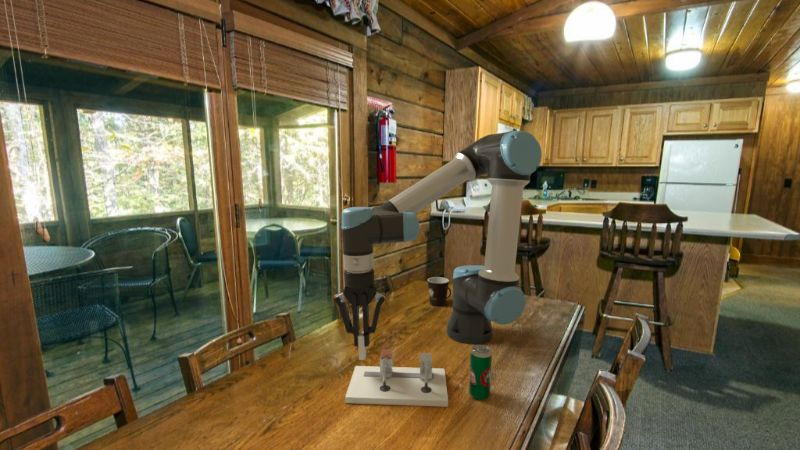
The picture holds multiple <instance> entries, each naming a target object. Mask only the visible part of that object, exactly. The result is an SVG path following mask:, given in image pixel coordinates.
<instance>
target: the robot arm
mask: <svg viewBox="0 0 800 450" xmlns="http://www.w3.org/2000/svg"><path fill="white" fill-rule="evenodd" d="M542 154H543V153H542V147H541V145H540V142H539V140H537V139H536V136H534V135H533V134H532V133H530V132H528V131H525V130H509V131H505V132H499V133H492V134H487V135H484V136H482V137H479V139H477V140H475V141H474V142H472V143H470V144H469V145H467V146H466V147H465V148H463V149H462V150H460V151H458V152H457V153H456V154H454V157H453V159H452V160H451V161H449V162H447V163H445V164H444V165H443V166H441V167H440V168H438V169H436V170H434V171H433V172H431V173H430V174H428V175H426V176H425V177H423V178H422V179H420V180H419V181H417V182H415V183H413V184H412V185H411V186H409V187H408V188H406V189H405V190H403V191H401V192H400V193H398V194H396V195H395V196H394V197H392V198H390V199H389V200H387V201H385V202H383V204H381V205H379V206H373V207H368V206H352V207H347V208H345V209H343V210H342V212H341V226H340V228H341V236H342V237H341V239H342V258H343V259H342V262H343V269H344V272H343V281H344V282H343V283H344V288H343V290H342V292H341V293H340V294H337V295H336V296H335V298H334V302H335V304H336V305H337V306H338V308H339V311H340V315H341V319H342V323H343V325H344V327H345V332H346V333H347V334H351V335H353V343H354V347H357V348H358V360H359V361H365V360H366V357H367V347H369V346H370V343H371V339H370V334H374V333H376V330H377V327H378V326H377V325H378V322H379V316H380V313H381V308H382V305H383V303H384V302H385V299H386V295H385V294H384V293H382V294H381V293H380V292H378V289H377V288H376V284H375V270H374V269H373V268H374V267H375V260H374V259H375V258H374V257H375V255H374V246H375V245H382V244H383V245H385V244H395V243H406V242H411V241H415V240H416V239H417V238H418V237H419V236H420V235H419V234H420V222H419V218H418V216H417V214H418V213H419V212H420V211H421V210H423V209H425V208H427V207H428V206H430V205H431V204H433V203H434V202H436V201H437V200H438V199H440V198H442V197H443V196H445V195H446V194H448V193H449V192H451V191H454V189H455V188H457V187H459V186H461V185H462V184H464V183H465V182H466V181H470V182H472V181H474V180H475V179H477V178H479V177H481V176H484V175H487V177H486V180H487V181H488V182H489V184H490V185H491V192H490V202H489V203H490V204H489V213H488V221H487V223H488V224H487V233H486V235H487V236H486V242H485V243H486V244H485V246H486V247H485V255H484V265H480V264H479V265H478V264H477V265H476V264H475V265H474V264H473V265H472V264H471V265H470V264H469V265H468V264H467V265H461V266H457V267H456V268H455V269H454V270H453V276H452V309H451V310H452V311H451V313H450V316H449V319H448V321H447V324H446V334H447V336H448V337H449V338H450V339H452V340H453V341H456V342H458V343H462V344H463V343H464V344H470V345H480V344H484V343H487V342H490V341H491V340H492V339H493V337H494V328H493V324H492V323H495V324H497V325H500V326H503V325H505V326H506V325H509V324H511V323H514V322H515V321H516V320H517V319H518V318H519V317H520V316H521V315H522V314H523V313H524V310H525V307H526V304H527V303H526V302H527V301H526V299H527V298H526V295H525V293H524V292H523V291H522V289H521V288H520V287H519V286H520V276H519V275H518V274H517V272H516V262H517V261H516V260H517V253H518V241H519V233H520V222H521V214H522V204H523V194H524V193H523V192H524V188H525V186H527V185H528V184H529V183H530V182H531V175H532V174H533V173H534V172H536V171H537V169H538V168H539V167H540V164H541V162H542V158H543V157H542V156H543V155H542ZM374 298H375V303H376V305H375V309H374V312H373V313H374V314H373V317H372V322H371V326H370V309H369V306H370V303H371V302H372V300H373V299H374ZM346 300H347V301H348V302H349V304H350V305H351V310H352V319H351V317H350V314H349V313H350V312H349V310H348V306H347V304H346ZM360 306H361V310H362V323H363V324H362V325H363V326H362V327H363V328H362V329H363V331H360V330H361V328H360Z"/></svg>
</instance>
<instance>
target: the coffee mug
mask: <svg viewBox="0 0 800 450" xmlns="http://www.w3.org/2000/svg"><path fill="white" fill-rule="evenodd" d="M449 283H450V280H449V279H448V278H446V277H443V276H442V277H440V276H434V277H433V276H432V277H429V278H427V287H428V297H429V304H430V305H431V306H432V307H436V308H439V307H441V308H442V307H444V306H446V304H447V299H449V298H450V297H451V295H452V291H451V288H450V286H449ZM448 291H449V294H448Z"/></svg>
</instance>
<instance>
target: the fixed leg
mask: <svg viewBox="0 0 800 450" xmlns="http://www.w3.org/2000/svg"><path fill="white" fill-rule="evenodd" d="M419 365H420V366H419V368H420V379H425V388H426V389H427V388H428V380H432V368H433V353H430V352H420V353H419Z"/></svg>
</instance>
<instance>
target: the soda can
mask: <svg viewBox="0 0 800 450" xmlns="http://www.w3.org/2000/svg"><path fill="white" fill-rule="evenodd" d="M469 353H470V355H469V382H468V384H469V385H468V393H469V395H470V396H471V397H472V398H474V399H475V400H477V401H478V400H479V401H484V400H488V398H489V397H490V396H491V387H492V386H491V385H492V384H491V383H492V363H493V362H492V359H493V358H492V357H493V353H492V351H491V348H490V347H489V346H487V345H484V344H473V346H472V347H471V350H470V352H469Z"/></svg>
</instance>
